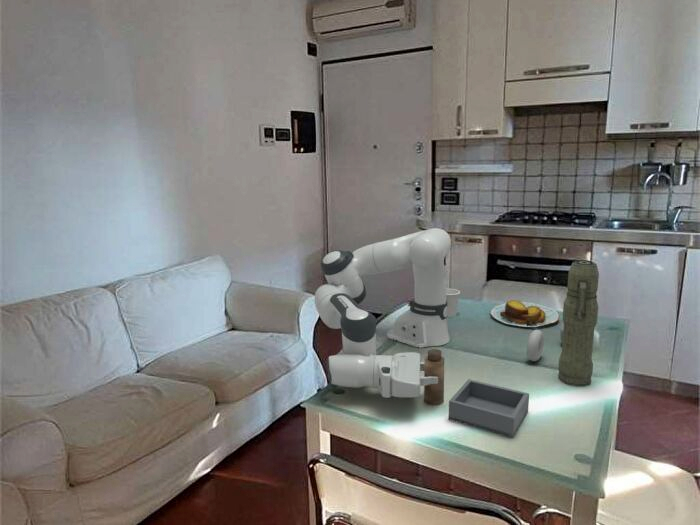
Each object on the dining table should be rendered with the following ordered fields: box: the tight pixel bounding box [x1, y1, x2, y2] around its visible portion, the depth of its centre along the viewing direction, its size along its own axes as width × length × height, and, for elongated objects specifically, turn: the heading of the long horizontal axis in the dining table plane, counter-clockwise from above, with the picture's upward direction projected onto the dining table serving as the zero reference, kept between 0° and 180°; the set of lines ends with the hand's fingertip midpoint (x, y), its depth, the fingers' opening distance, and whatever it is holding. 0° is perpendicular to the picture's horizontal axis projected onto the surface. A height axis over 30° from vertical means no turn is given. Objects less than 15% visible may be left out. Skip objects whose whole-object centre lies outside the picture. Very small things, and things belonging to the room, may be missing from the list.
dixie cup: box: [446, 288, 461, 318], centre depth 200 cm, size 8×8×10 cm
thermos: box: [557, 259, 600, 387], centre depth 140 cm, size 9×12×35 cm
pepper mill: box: [423, 348, 445, 406], centre depth 132 cm, size 5×5×14 cm
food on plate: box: [490, 300, 560, 328], centre depth 195 cm, size 25×25×7 cm
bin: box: [448, 378, 530, 439], centre depth 125 cm, size 16×14×5 cm
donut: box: [526, 329, 545, 362], centre depth 156 cm, size 10×4×10 cm, turn 145°
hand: (437, 374), depth 132 cm, fingers closed on pepper mill, 5 cm apart
